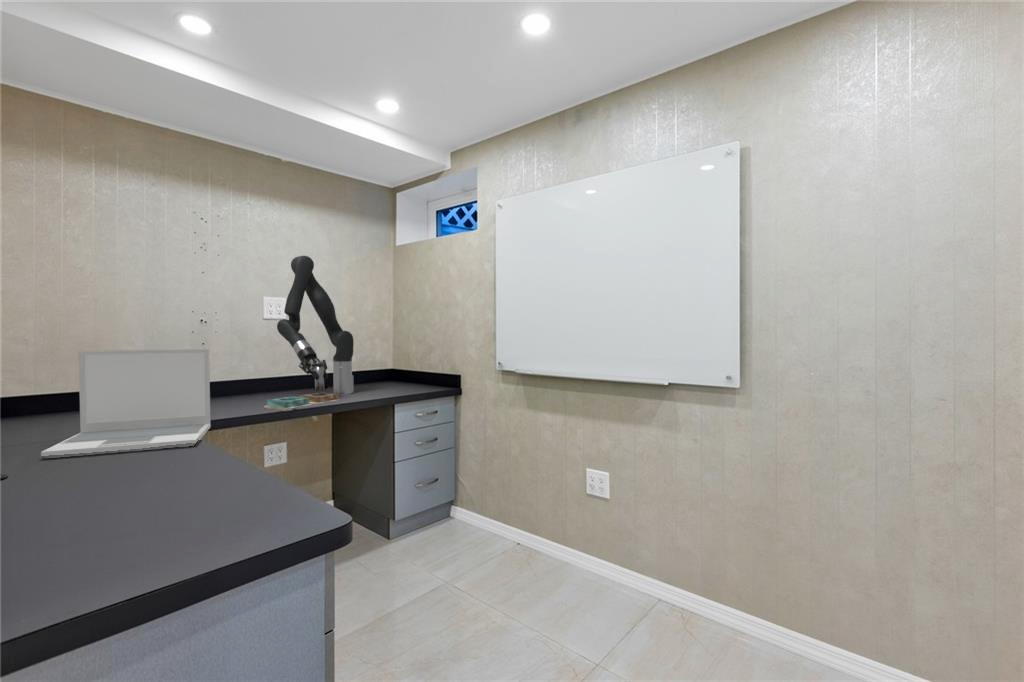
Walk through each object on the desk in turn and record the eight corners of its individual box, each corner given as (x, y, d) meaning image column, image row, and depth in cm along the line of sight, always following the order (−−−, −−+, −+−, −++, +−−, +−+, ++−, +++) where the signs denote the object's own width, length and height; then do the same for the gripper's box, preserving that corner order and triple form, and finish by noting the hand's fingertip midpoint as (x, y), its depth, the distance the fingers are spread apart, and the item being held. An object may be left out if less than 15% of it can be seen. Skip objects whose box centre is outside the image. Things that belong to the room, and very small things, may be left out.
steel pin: (320, 388, 227) (319, 361, 227) (327, 389, 225) (326, 361, 224) (311, 390, 223) (310, 362, 222) (318, 390, 221) (317, 362, 220)
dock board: (320, 399, 233) (320, 391, 233) (341, 401, 226) (341, 394, 226) (264, 407, 208) (264, 399, 208) (286, 411, 201) (285, 402, 200)
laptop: (41, 461, 127) (38, 355, 126) (82, 439, 151) (79, 350, 150) (195, 448, 141) (194, 352, 140) (210, 430, 165) (209, 348, 165)
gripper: (294, 347, 221) (312, 374, 215) (320, 345, 233) (338, 371, 227) (287, 358, 223) (305, 385, 218) (313, 355, 236) (331, 381, 230)
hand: (322, 378), depth 223 cm, fingers closed on steel pin, 4 cm apart
